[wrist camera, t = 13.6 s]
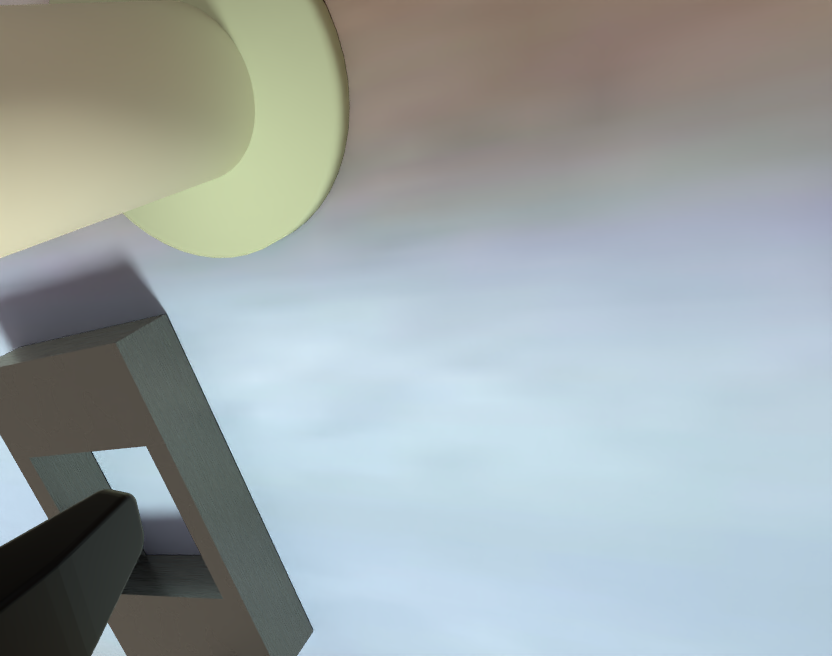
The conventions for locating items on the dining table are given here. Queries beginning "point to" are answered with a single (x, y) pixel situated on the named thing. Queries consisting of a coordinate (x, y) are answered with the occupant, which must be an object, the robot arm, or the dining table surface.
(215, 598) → the dark grey peg holder
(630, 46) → the dining table surface
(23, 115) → the cream round peg
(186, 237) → the sage mat
